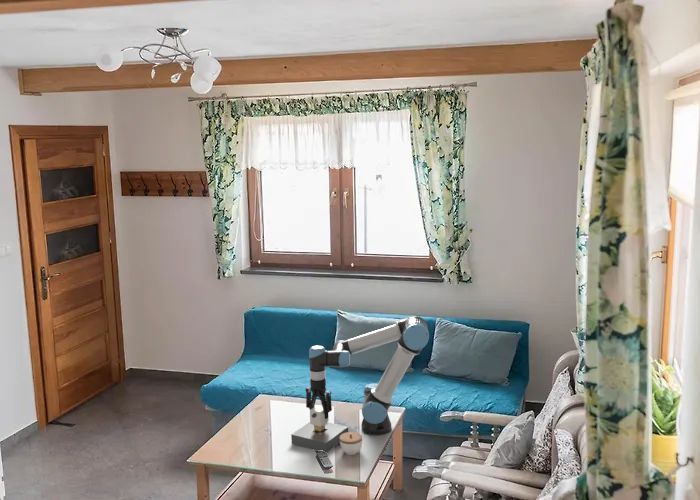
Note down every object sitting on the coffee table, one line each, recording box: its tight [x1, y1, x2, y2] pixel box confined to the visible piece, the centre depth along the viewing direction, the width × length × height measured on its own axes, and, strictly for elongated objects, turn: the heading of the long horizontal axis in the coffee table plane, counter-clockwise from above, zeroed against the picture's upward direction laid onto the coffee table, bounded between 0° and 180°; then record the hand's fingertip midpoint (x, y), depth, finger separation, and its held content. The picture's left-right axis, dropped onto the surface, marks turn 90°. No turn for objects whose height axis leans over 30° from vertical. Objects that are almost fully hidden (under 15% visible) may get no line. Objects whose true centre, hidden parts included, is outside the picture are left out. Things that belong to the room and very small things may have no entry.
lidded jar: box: [339, 431, 363, 456], centre depth 325 cm, size 11×11×9 cm
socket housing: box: [290, 421, 349, 453], centre depth 339 cm, size 20×20×5 cm
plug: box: [309, 404, 329, 431], centre depth 337 cm, size 6×9×10 cm
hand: (319, 423), depth 338 cm, fingers closed on plug, 6 cm apart
